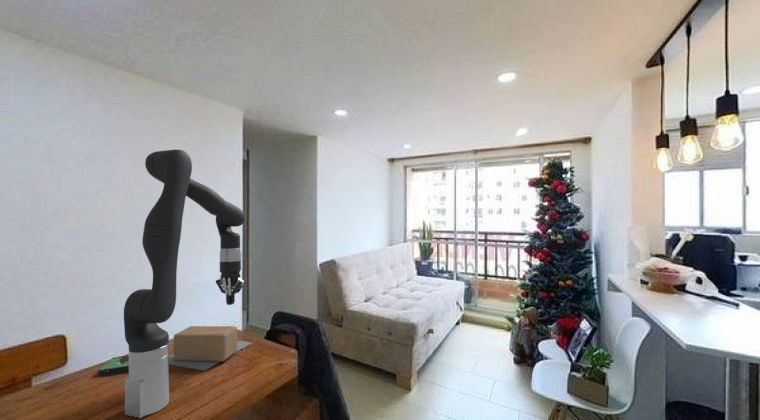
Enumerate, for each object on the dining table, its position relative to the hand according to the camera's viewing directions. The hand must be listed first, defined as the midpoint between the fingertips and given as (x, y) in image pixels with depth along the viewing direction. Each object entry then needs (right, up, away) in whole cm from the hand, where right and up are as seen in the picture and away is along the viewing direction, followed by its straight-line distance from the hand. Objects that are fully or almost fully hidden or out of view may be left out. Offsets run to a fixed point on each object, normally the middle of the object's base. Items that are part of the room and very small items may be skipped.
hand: (230, 304), depth 122 cm
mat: (-10, -20, +3) cm, 23 cm away
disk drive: (-33, -21, -7) cm, 40 cm away
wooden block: (+2, -14, -2) cm, 15 cm away
